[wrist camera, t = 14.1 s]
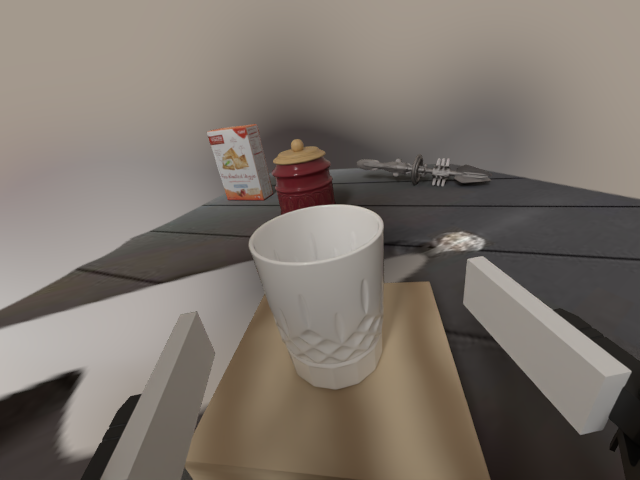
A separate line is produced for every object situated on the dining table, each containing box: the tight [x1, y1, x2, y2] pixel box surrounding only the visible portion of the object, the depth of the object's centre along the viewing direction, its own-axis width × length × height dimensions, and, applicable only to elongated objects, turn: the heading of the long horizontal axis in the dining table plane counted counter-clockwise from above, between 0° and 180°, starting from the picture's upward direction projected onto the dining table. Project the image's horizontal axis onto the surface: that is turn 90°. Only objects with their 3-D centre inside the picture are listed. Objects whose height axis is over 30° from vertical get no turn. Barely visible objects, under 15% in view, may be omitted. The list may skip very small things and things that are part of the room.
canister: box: [272, 139, 336, 215], centre depth 64 cm, size 13×13×18 cm
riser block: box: [184, 282, 491, 480], centre depth 23 cm, size 16×16×8 cm
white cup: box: [249, 204, 384, 390], centre depth 19 cm, size 8×8×10 cm
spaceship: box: [357, 154, 492, 186], centre depth 76 cm, size 8×35×8 cm
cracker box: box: [207, 124, 273, 200], centre depth 85 cm, size 14×6×21 cm, turn 67°
